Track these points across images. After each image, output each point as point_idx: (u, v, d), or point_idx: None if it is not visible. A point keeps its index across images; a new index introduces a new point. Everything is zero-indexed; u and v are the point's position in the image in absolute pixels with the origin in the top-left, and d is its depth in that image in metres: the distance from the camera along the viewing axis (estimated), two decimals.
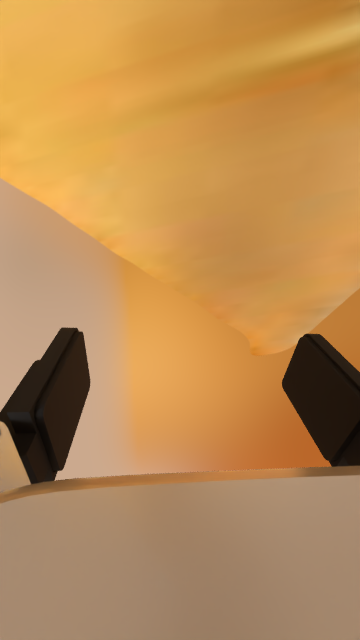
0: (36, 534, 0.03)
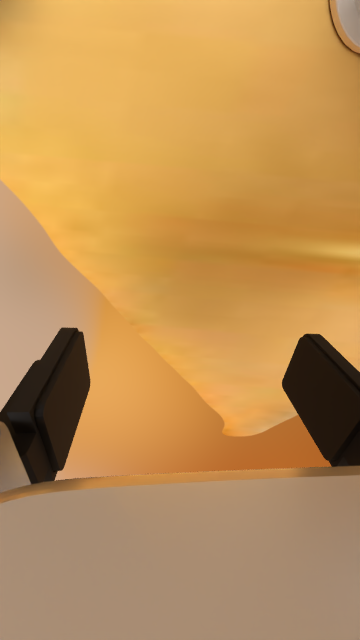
0: (36, 534, 0.03)
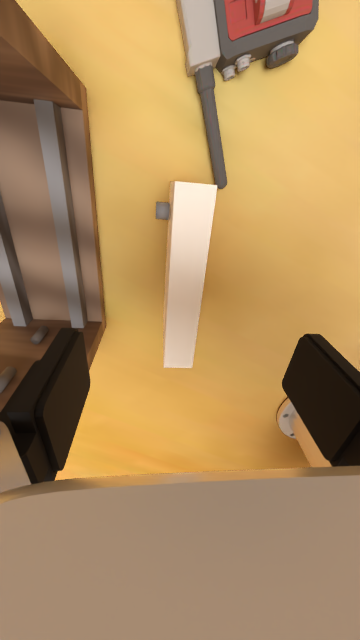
0: (36, 534, 0.03)
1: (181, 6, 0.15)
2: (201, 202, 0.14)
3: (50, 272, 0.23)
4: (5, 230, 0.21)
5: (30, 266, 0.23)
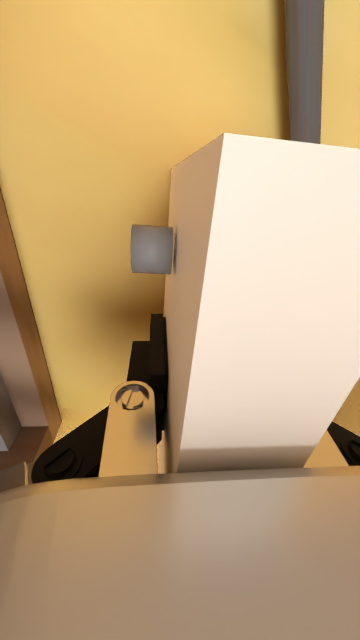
0: (36, 534, 0.03)
1: None
2: None
3: None
4: None
5: None
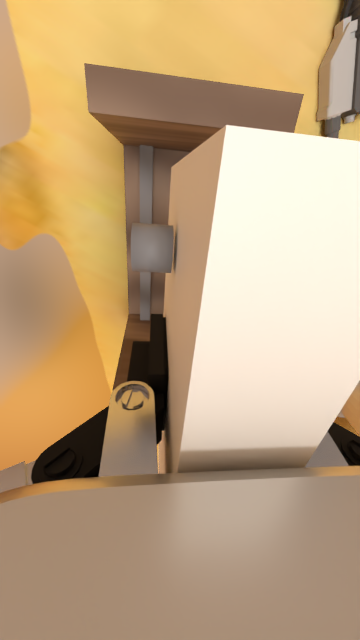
0: (36, 534, 0.03)
1: (329, 76, 0.21)
2: None
3: None
4: None
5: None
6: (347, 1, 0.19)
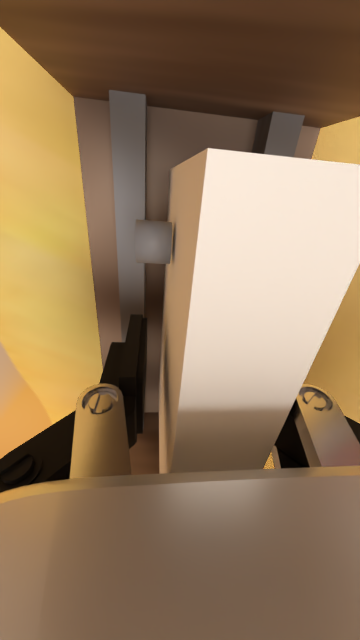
0: (36, 534, 0.03)
1: None
2: (315, 247, 0.03)
3: None
4: None
5: (160, 352, 0.16)
6: None
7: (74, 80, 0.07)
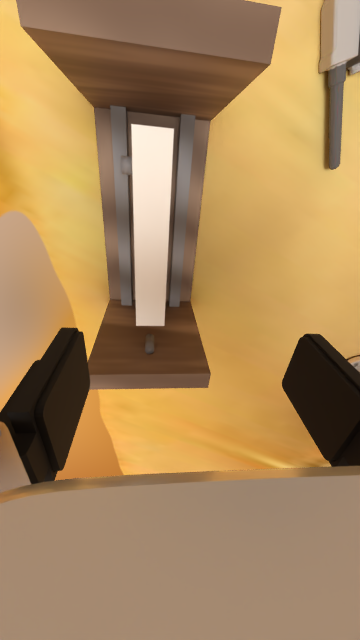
0: (36, 534, 0.03)
1: (333, 15, 0.18)
2: (159, 148, 0.15)
3: None
4: (130, 221, 0.24)
5: None
6: None
7: (96, 102, 0.18)
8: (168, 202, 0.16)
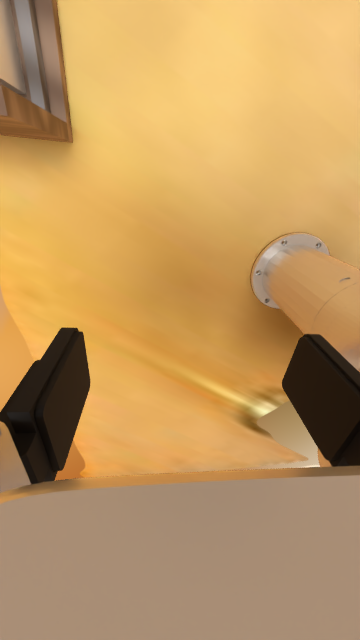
0: (36, 534, 0.03)
1: None
2: None
3: None
4: None
5: None
6: None
7: None
8: None
